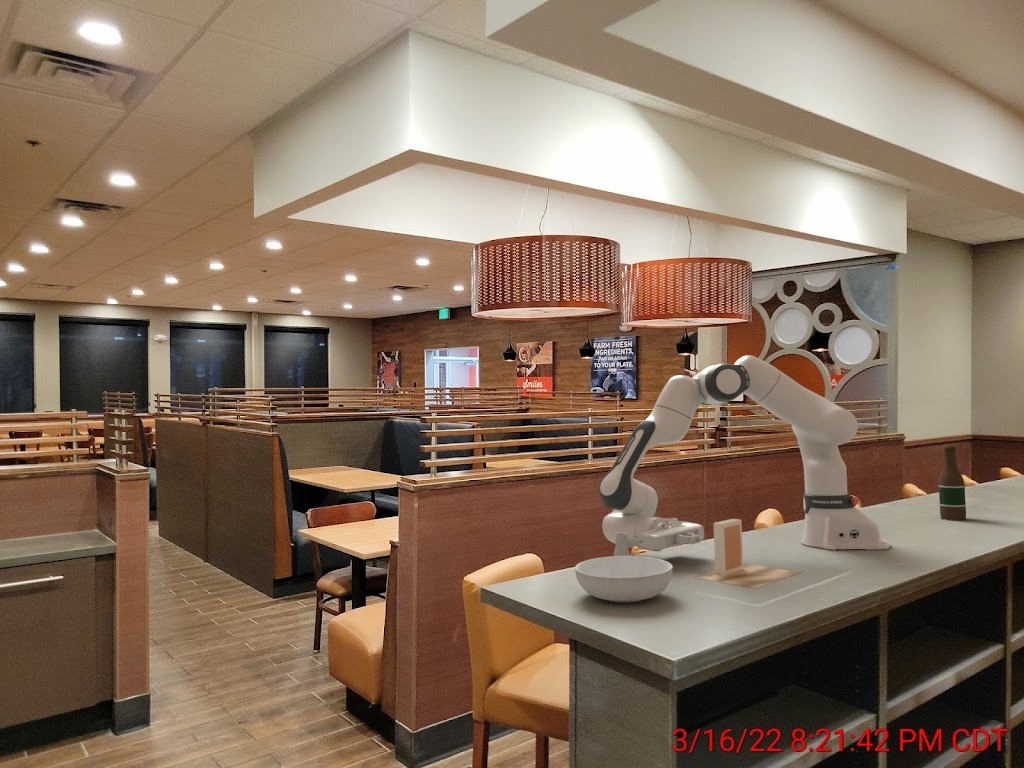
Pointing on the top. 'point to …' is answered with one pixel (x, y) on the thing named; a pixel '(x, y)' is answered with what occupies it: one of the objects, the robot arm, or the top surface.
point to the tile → (728, 546)
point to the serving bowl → (624, 577)
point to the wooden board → (750, 576)
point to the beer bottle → (951, 488)
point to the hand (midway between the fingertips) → (697, 540)
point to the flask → (621, 545)
